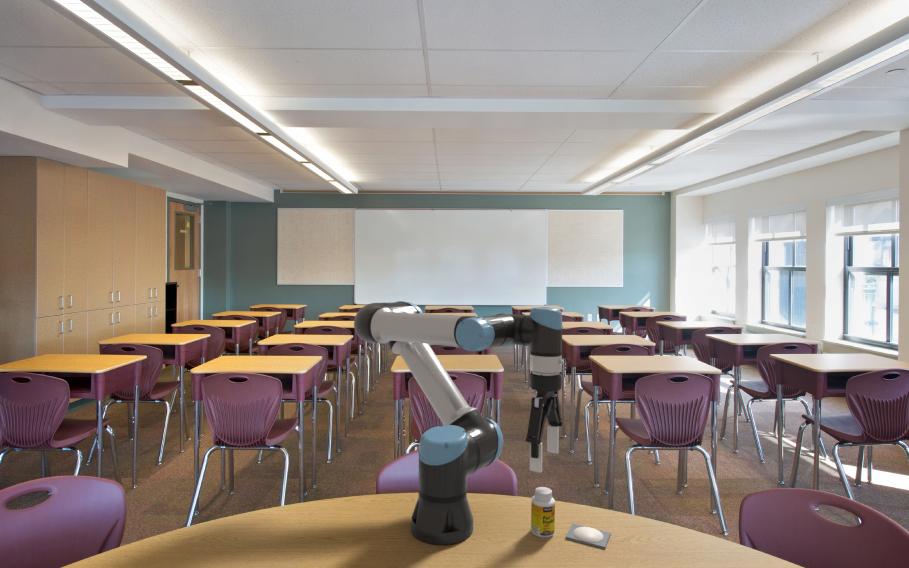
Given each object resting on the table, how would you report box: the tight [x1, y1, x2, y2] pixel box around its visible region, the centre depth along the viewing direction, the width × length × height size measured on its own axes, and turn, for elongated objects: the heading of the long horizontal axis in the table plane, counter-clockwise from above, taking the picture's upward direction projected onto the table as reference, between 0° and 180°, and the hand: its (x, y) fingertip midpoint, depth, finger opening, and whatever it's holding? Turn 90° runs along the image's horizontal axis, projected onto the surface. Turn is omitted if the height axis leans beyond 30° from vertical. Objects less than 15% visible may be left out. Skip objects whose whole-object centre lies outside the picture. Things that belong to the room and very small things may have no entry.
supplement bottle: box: [530, 486, 556, 539], centre depth 115 cm, size 6×6×10 cm
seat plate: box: [565, 523, 612, 550], centre depth 113 cm, size 9×7×1 cm
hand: (544, 461), depth 115 cm, fingers open, 13 cm apart
